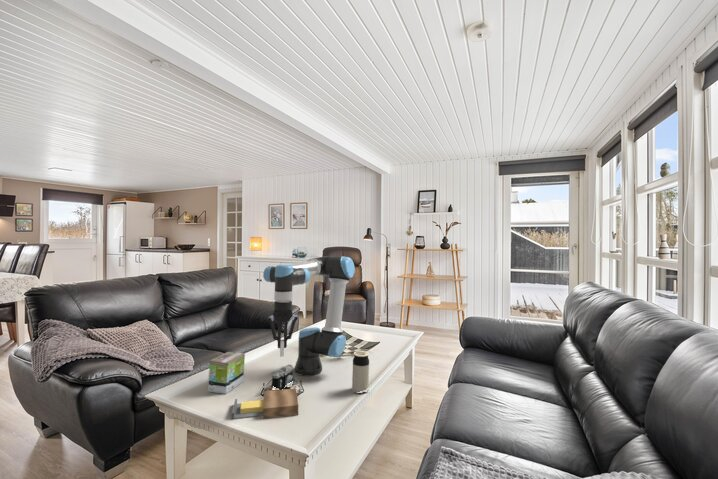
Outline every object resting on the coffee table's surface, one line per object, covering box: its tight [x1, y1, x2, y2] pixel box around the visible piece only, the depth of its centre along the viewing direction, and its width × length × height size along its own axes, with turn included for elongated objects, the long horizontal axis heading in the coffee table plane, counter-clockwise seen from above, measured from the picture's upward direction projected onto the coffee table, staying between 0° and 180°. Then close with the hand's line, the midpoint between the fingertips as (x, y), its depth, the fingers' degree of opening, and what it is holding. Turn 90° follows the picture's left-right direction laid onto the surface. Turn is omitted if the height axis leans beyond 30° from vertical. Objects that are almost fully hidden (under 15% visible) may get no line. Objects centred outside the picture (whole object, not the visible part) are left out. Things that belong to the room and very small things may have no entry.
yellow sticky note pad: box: [240, 399, 264, 414], centre depth 139 cm, size 9×6×2 cm, turn 105°
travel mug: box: [351, 350, 370, 393], centre depth 161 cm, size 8×8×18 cm
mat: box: [231, 398, 263, 420], centre depth 139 cm, size 12×12×2 cm
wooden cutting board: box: [262, 388, 299, 420], centre depth 142 cm, size 14×16×4 cm
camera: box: [271, 364, 295, 390], centre depth 161 cm, size 15×7×10 cm, turn 159°
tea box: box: [207, 351, 246, 395], centre depth 161 cm, size 15×10×15 cm, turn 168°
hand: (281, 355), depth 143 cm, fingers closed
